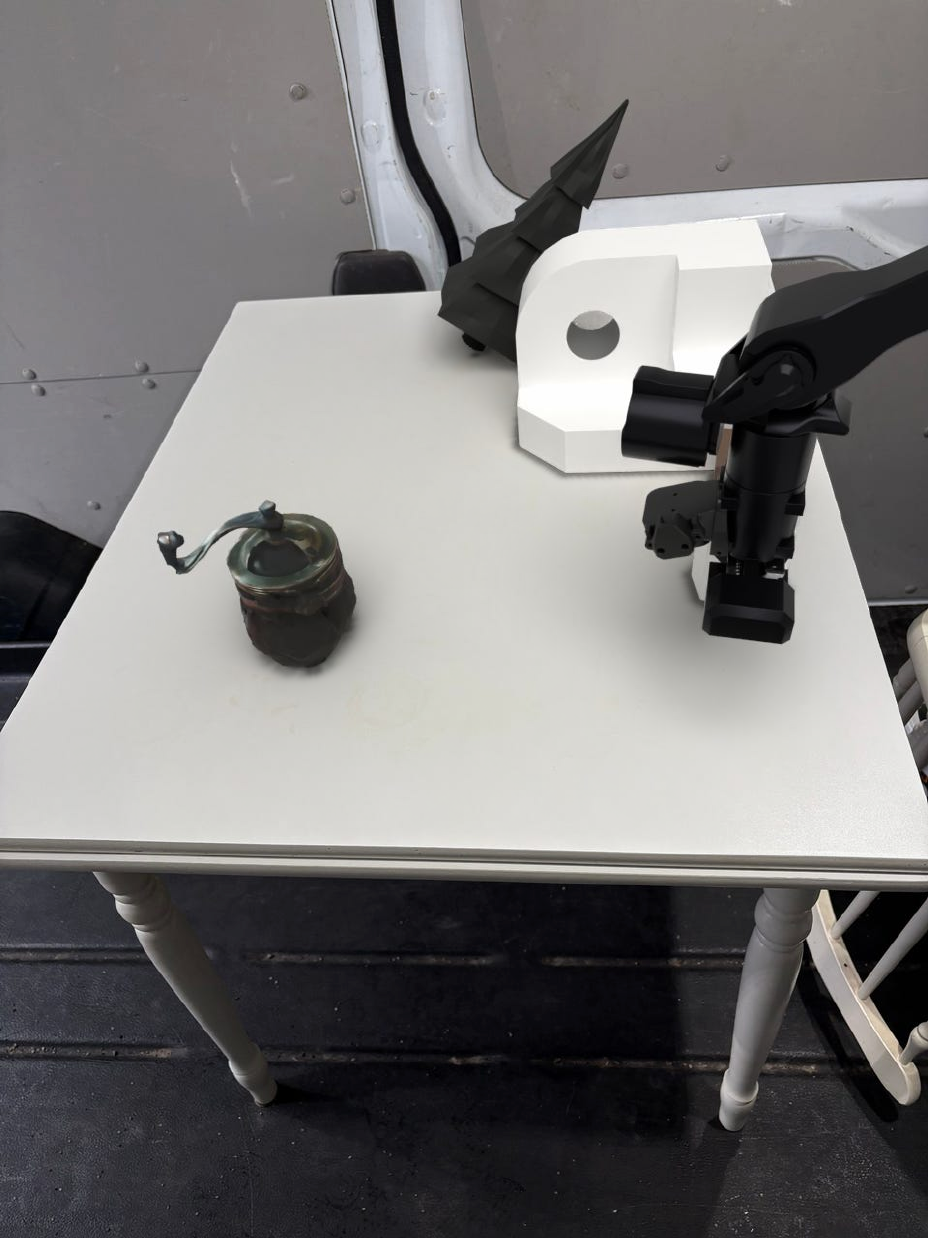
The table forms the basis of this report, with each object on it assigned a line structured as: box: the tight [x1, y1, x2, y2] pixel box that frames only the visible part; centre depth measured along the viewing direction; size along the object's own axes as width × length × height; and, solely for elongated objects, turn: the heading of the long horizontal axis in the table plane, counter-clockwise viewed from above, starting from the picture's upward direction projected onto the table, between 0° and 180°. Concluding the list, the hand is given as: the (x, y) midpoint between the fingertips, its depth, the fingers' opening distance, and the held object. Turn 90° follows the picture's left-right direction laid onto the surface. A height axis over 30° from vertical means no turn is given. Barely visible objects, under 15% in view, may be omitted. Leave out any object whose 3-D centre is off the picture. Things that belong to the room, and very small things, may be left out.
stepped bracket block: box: [516, 218, 773, 474], centre depth 93 cm, size 26×17×20 cm, turn 84°
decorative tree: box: [436, 98, 630, 365], centre depth 106 cm, size 15×15×35 cm
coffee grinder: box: [156, 499, 358, 668], centre depth 74 cm, size 13×15×18 cm
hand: (736, 620), depth 72 cm, fingers closed
